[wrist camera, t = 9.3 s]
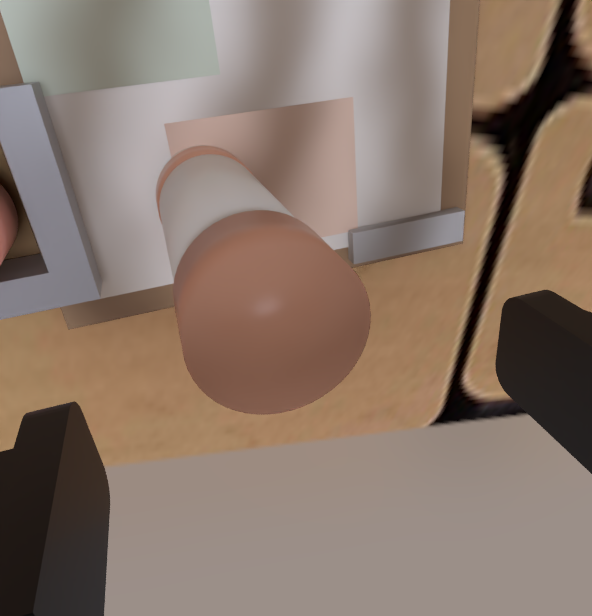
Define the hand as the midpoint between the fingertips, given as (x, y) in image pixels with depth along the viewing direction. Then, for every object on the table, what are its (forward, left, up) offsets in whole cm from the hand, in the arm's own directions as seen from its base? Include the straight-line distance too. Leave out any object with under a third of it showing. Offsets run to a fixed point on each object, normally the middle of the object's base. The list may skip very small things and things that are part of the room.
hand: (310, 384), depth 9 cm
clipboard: (-3, -3, -15) cm, 16 cm away
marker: (0, 0, -14) cm, 14 cm away
